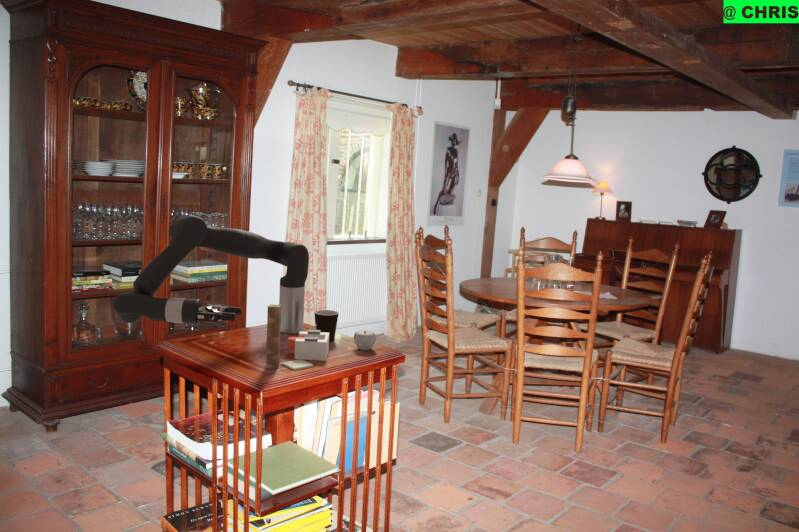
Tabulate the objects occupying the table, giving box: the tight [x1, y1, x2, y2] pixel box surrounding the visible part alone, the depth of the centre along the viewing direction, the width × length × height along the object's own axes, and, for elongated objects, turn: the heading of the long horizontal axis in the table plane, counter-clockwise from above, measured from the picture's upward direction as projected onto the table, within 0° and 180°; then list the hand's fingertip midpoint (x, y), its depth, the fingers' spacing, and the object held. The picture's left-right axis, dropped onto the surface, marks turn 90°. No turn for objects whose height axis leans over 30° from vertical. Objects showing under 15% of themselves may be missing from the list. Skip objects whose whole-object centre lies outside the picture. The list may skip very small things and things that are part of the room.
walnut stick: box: [265, 304, 281, 369], centre depth 198 cm, size 4×4×19 cm
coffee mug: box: [314, 309, 339, 343], centre depth 235 cm, size 12×9×10 cm
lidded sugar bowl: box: [353, 330, 377, 351], centre depth 224 cm, size 8×8×7 cm
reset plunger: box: [286, 336, 305, 351], centre depth 214 cm, size 6×4×4 cm, turn 92°
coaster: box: [281, 359, 314, 371], centre depth 202 cm, size 7×7×1 cm
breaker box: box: [294, 329, 330, 361], centre depth 214 cm, size 10×13×7 cm
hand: (238, 314), depth 196 cm, fingers open, 8 cm apart
